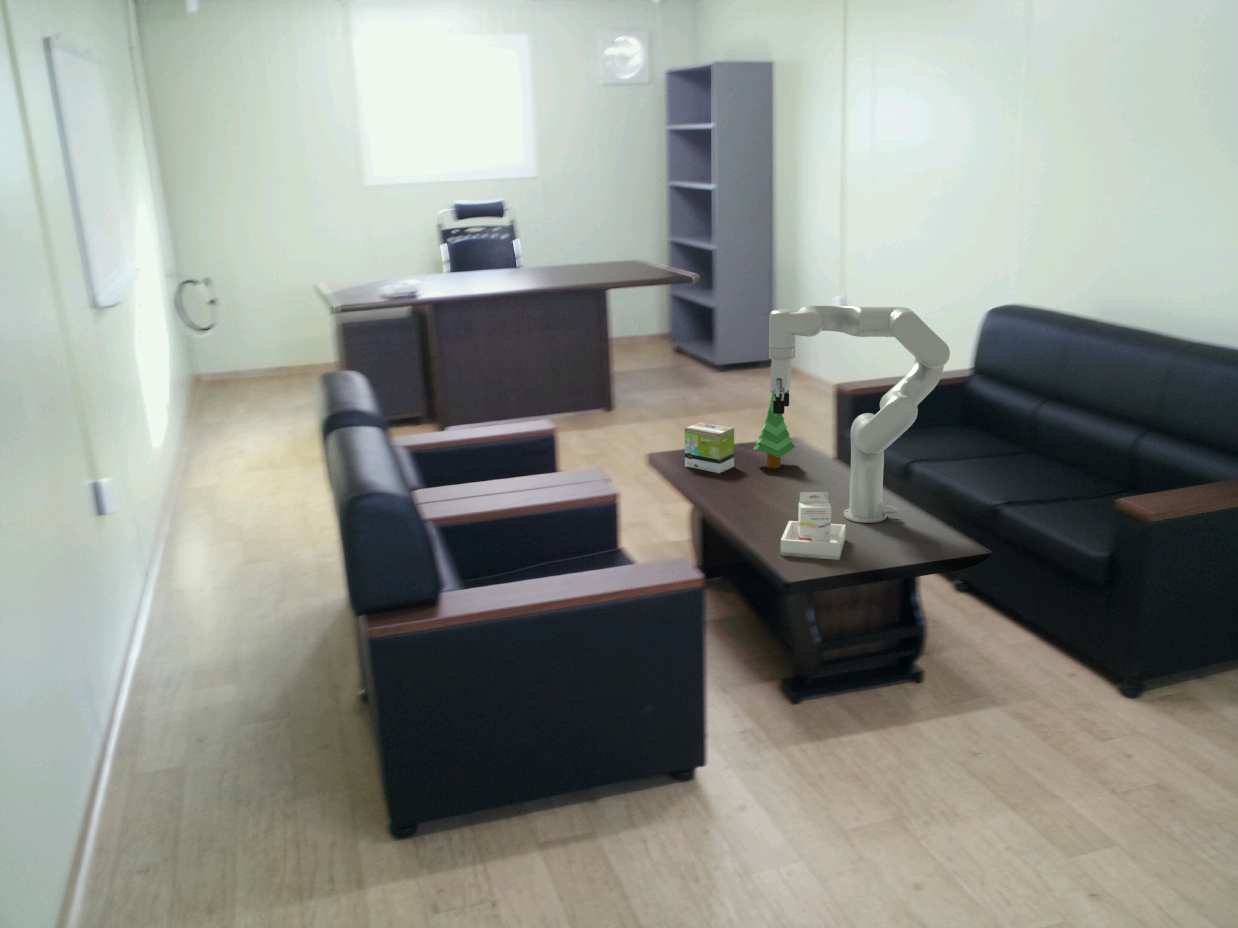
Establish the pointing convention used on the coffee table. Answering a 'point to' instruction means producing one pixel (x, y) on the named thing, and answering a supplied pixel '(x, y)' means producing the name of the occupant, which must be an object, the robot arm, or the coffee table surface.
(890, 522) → the coffee table surface
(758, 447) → the decorative tree
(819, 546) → the box
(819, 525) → the ink cartridge box
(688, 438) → the tea box
